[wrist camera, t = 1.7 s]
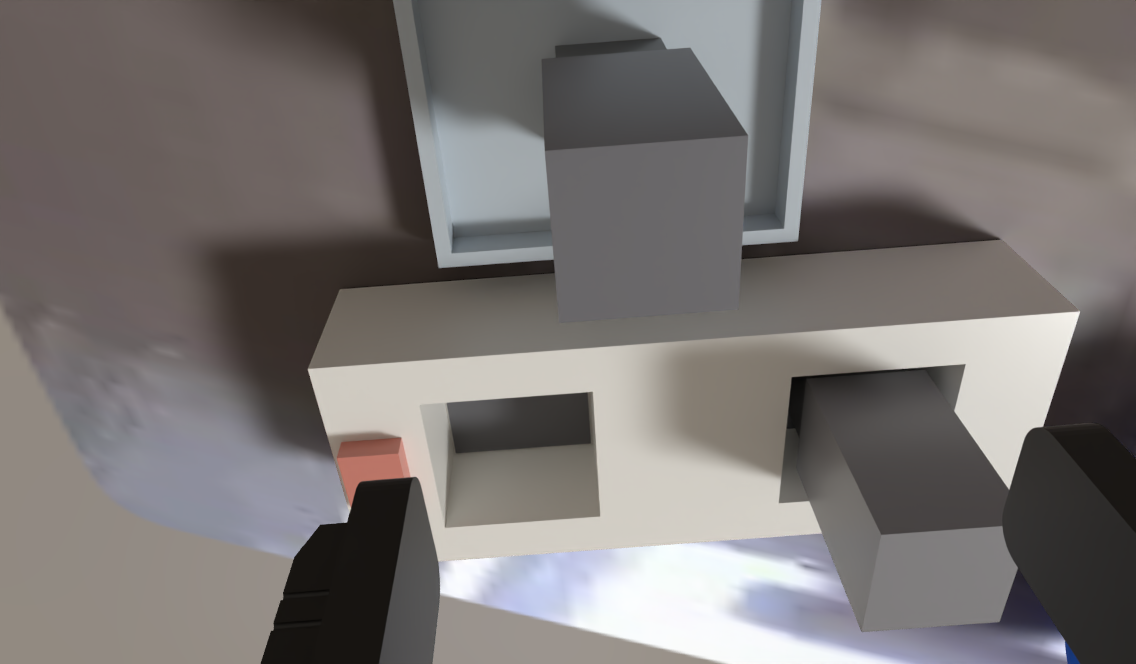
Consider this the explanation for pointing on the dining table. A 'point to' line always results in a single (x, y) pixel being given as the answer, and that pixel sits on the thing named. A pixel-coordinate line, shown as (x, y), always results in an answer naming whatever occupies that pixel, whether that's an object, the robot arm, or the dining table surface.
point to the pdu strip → (665, 392)
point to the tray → (515, 105)
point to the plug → (641, 182)
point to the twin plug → (902, 499)
